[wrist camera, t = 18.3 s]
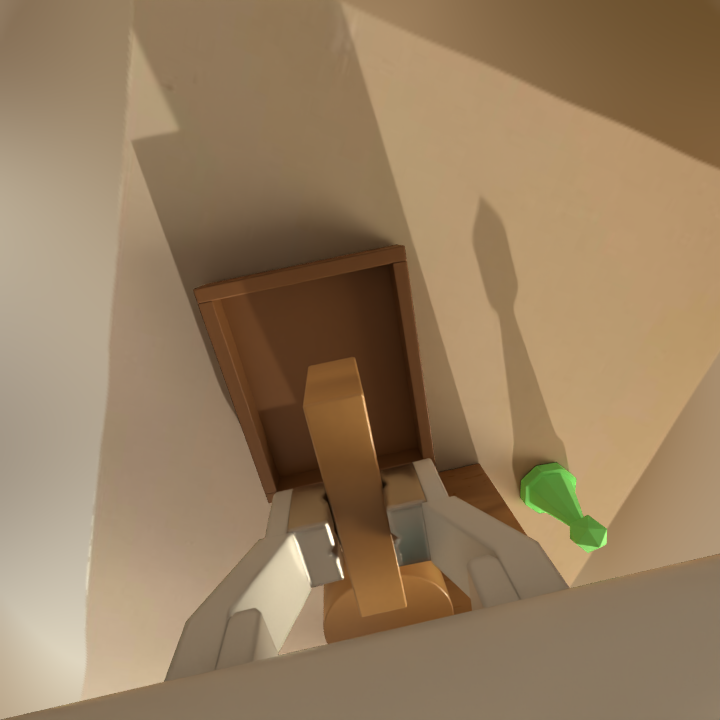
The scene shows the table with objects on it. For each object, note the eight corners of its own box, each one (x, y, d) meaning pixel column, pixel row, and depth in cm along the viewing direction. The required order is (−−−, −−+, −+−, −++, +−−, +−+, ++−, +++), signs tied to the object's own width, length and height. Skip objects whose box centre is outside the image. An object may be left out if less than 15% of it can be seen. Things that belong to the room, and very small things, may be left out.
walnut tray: (204, 284, 21) (192, 289, 19) (397, 244, 21) (404, 245, 19) (272, 483, 26) (268, 503, 24) (428, 449, 26) (436, 466, 24)
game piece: (532, 457, 27) (585, 515, 22) (580, 467, 28) (644, 526, 22) (510, 502, 29) (554, 568, 23) (556, 510, 29) (611, 576, 24)
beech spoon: (256, 376, 10) (235, 419, 8) (404, 345, 10) (428, 378, 8) (337, 633, 14) (339, 716, 12) (445, 608, 14) (470, 685, 12)
